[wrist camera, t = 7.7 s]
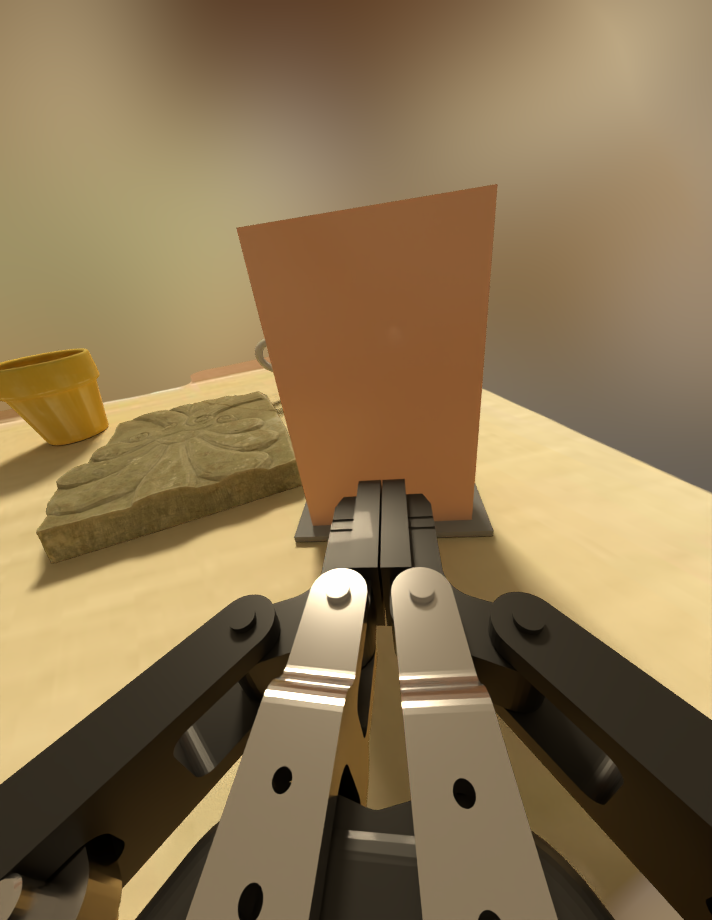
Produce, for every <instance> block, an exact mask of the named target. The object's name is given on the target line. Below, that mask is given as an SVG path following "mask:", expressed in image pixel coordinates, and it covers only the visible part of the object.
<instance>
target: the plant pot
mask: <svg viewBox="0 0 712 920" xmlns="http://www.w3.org/2000/svg"><path fill="white" fill-rule="evenodd" d="M98 377H99V372H98V369H97V367H96V365H95V363H94V361H93V359H92V357H91V355H90V353H89V351H88V350H87V349H83V348H82V349H69V350H61V351H55V352H48V353H43V354H37V355H32V356H27V357H22V358H18V359H13V360H9V361H5V362H1V363H0V401H4V402H6V403H7V404H8V405H9V406H10V407H11V408H12V409H13V410H15V411H16V412H17V413H18V414H19V415H20V416H21V417H22V418H23V419H24V420H25V421H26V422H27V423H28V424H29V425H30V426H31V427H32V428H33V429H34V430H35V431H36V432H37V433H38V434H39V435H40V436H41V437H42V438H43V439H44V440H45V441H47V442H48V443H49V444H51V445H65V444H71V443H75V442H78V441H81V440H85V439H87V438H90V437H92V436H95V435H97V434H99V433H101V432H102V431H104V430H105V429H106V428H107V427H108V421H107V417H106V414H105V410H104V406H103V403H102V399H101V395H100V391H99V388H98V384H97V380H96V379H97V378H98Z"/></svg>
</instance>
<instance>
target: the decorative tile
mask: <svg viewBox="0 0 712 920" xmlns="http://www.w3.org/2000/svg"><path fill="white" fill-rule="evenodd" d="M56 483H57V487H58V489H57V491H56V492H55V493H54V495H53V496H52V498H51V499H50V501H49V502H48V505H47V509H46V514H47V517H46V518H45V520H44V521H43V523H42V525H41V526H40V527H39V528H38V529H37V532H36V534H37V535H38V537H39V539H40V541H41V543H42V545H43V547H44V550H45V552H46V554H47V556H48V557H49V559H50V562H51V564H52V563H57V562H60V561H63V560H67V559H70V558H73V557H77V556H80V555H83V554H86V553H90V552H93V551H96V550H99V549H103V548H106V547H109V546H112V545H116V544H119V543H122V542H125V541H129V540H132V539H135V538H138V537H141V536H145V535H148V534H151V533H154V532H158V531H161V530H164V529H167V528H170V527H173V526H177V525H180V524H183V523H186V522H189V521H192V520H195V519H198V518H201V517H205V516H208V515H211V514H214V513H217V512H220V511H223V510H227V509H230V508H233V507H236V506H239V505H243V504H246V503H249V502H252V501H255V500H258V499H261V498H264V497H267V496H270V495H273V494H276V493H279V492H283V491H286V490H289V489H292V488H295V487H298V486H301V485H302V482H301V478H300V474H299V470H298V466H297V462H296V458H295V455H294V451H293V447H292V443H291V439H290V436H289V434H288V432H287V430H286V428H285V426H284V424H283V422H282V420H281V419H280V417H279V415H278V413H277V411H276V409H275V407H274V406H273V404H272V403H271V402H270V400H269V398H268V397H267V395H265V394H263V393H261V392H254V393H250V394H246V395H240V396H236V395H235V396H226V397H221V398H218V399H214V400H206V401H202V402H198V403H194V404H187V405H183V406H179V407H177V408H173V409H171V410H169V411H168V410H163V411H157V412H152V413H148V414H144V415H142V416H139V417H137V418H135V419H133V420H132V421H127V422H124V423H120V424H119V425H118V427H117V428H116V431H115V433H114V435H113V436H112V438H111V439H110V441H109V442H108V444H107V445H106V446H103V447H101V448H99V449H97V450H96V451H95V452H94V453H93V455H92V457H91V459H90V460H89V462H88V464H83V465H80V466H77V467H74V468H73V469H72V470H70V471H69V472H67V473H66V474H64V475H63V476H61V477H60V478H59V479H58V480H57V481H56Z"/></svg>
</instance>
